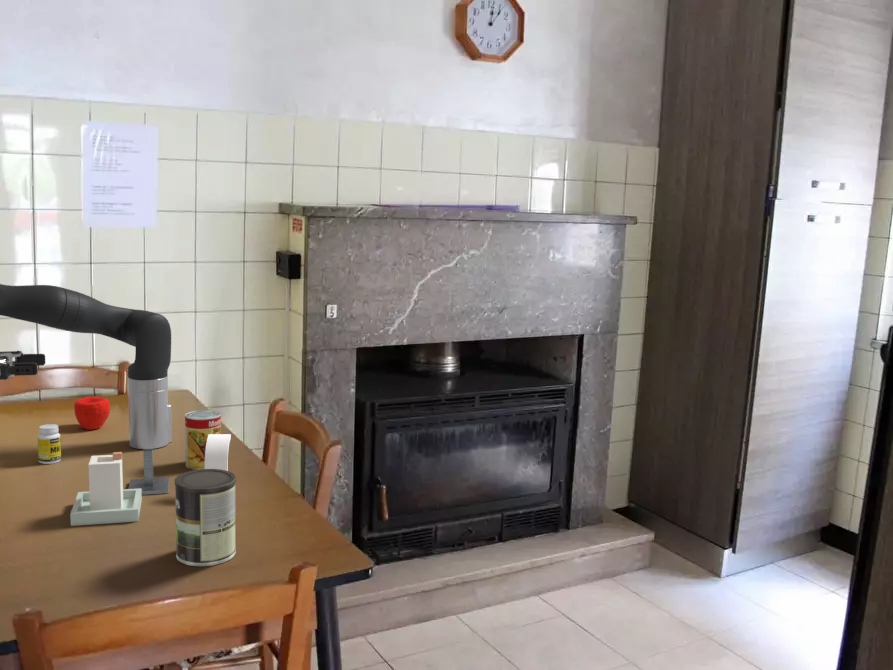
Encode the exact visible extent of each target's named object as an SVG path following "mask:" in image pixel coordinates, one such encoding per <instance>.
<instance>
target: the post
mask: <svg viewBox="0 0 893 670" xmlns="http://www.w3.org/2000/svg"><path fill="white" fill-rule="evenodd" d="M142 452H143V453H142V454H143V455H142V456H143V457H142V458H143V478H133V479H129V485H128V488H127V489H138V488H142V496H146V495H147V496H148V495H163V494H169V489H170V476H169V477H167V476H166V477H154V449H143V451H142Z"/></svg>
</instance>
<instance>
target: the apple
mask: <svg viewBox="0 0 893 670" xmlns="http://www.w3.org/2000/svg"><path fill="white" fill-rule="evenodd" d="M73 408H74V416H75V418H76V420H77V423H78V424H79V426H80V427H81V428H82V429H84V430H89V431H93V430H98V429H100V428H102V427H103V426H104V424H105V423H106V421H107V419H108V418H109V417H110V416H109V415H110V413H111V404H110V401H109V399H108V398H105V397H101V396H86V397H82V398H80V399H79V398H78V399H77V400H75V403H74V406H73Z"/></svg>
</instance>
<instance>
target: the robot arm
mask: <svg viewBox="0 0 893 670" xmlns="http://www.w3.org/2000/svg"><path fill="white" fill-rule="evenodd" d="M0 316H3V317H7V318H11V319H16V320H20V321H25V322H29V323H34V324H37V325H38V324H39V325H40V326H41V325H42V326H45V327H49V328H53V329H57V330H61V331H65V332H72V333H77V334H78V333H80V334H94V335H95V334H96V335H101V336H104V337H108V338H111V339H114V340H117V341H119V342H122V343H125V344H126V345H129V346H132V347H135V355H134V358H135V359H134V362H133V363H130V364H129V365H128V366H127V396H128V429H129V430H128V434H129V446H130V448H133V449H137V450H144V449H153V450H154V449H160V448H163V447H166V446H167V445H169V443H172V442H173V433H172V432H173V428H172V427H173V426H172V425H173V424H172V422H173V421H172V405H171V404H170V403H169V385H168V383H169V382H168V381H169V380H168V371H169V369H170V368H169V367H170V365H171V360H172V328H171V325H170V324H171V323H170V322H169V320H168V319H167V318H166V317H165V316H164V315H162V314H160V313H157V312H153V311H149V310H143V309H133V308H127V307H120V306H115V305H110V304H107V303H105V302H103V301H100V300H98V299H96V298H95V297H92V296H90V295H88V294H85V293H82V292H79V291H76V290H73V289H70V288H69V289H68V288H65V287H62V286H57V285H51V284H31V285H28V284H27V285H9V284H2V283H0ZM13 358H14V360H13ZM45 364H46V355H45V353H24V352H23V351H21V350H12V351H0V380H4V381H5V380H8V379H9V378H14V377H15V376H36V375H37V374H38V373H39V372H38V371H39V368H38V367H39V366H45Z"/></svg>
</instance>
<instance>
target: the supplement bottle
mask: <svg viewBox="0 0 893 670" xmlns="http://www.w3.org/2000/svg"><path fill="white" fill-rule="evenodd" d="M38 428H39V429H38V430H39V431H38V432H39V434H38V435H37V447H38V448H37V451H38V455H37V456H38V463H40V464H42V465H52V464H58V463H59V462H61V460H62V445H61V442H62V441H61V440H62V439H61V433H59V431H60V430H59V425H58V424H55V423H46V424H42V425H40V426H39V427H38Z"/></svg>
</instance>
